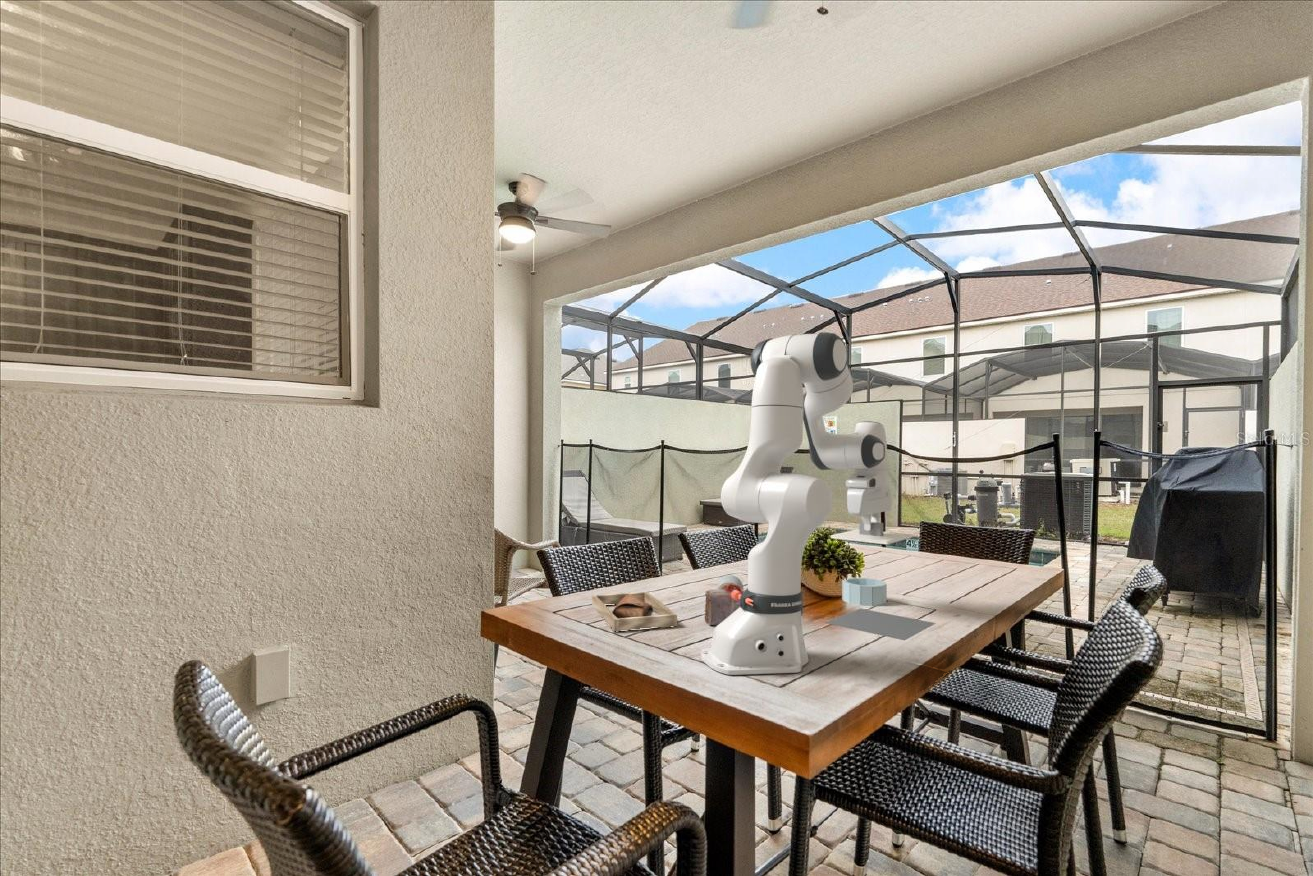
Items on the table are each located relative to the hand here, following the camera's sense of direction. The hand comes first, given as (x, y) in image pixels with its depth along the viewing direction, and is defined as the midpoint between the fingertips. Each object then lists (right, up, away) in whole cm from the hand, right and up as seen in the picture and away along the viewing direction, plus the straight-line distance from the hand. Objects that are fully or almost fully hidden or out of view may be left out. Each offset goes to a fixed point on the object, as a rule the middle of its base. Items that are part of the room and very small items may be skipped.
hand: (871, 529), depth 166 cm
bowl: (+1, -23, +8) cm, 24 cm away
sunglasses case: (-66, -22, -8) cm, 70 cm away
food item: (-41, -22, -14) cm, 48 cm away
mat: (-3, -22, -15) cm, 27 cm away
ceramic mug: (-38, -23, +5) cm, 44 cm away
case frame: (-66, -22, -8) cm, 70 cm away
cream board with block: (0, -2, 0) cm, 2 cm away
